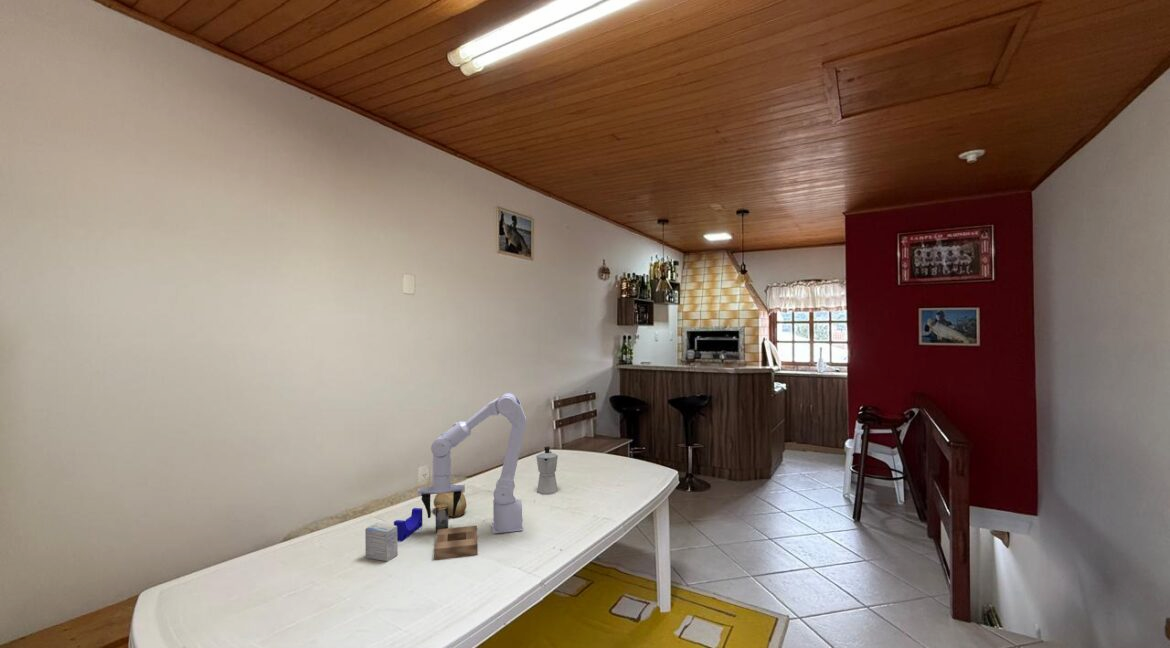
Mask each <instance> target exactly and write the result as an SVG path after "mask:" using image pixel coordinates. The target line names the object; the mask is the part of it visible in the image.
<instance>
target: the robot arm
mask: <svg viewBox="0 0 1170 648" xmlns="http://www.w3.org/2000/svg"><path fill="white" fill-rule="evenodd" d="M499 414H501V415H502V416H503V417H505V418H506V419H507V420H508V421H509V423H510V424H511V428H510V433H509V434H510V435H509V439H508V441H507V442H508V443H507V448H506V451H505V457H504V460H503V465H502V469H501V474H500V477H499V479H497V481H496V483H495V489H494V491H493V506H492V507H493V510H492V511H493V522H491V529H492V530H491V531H492V534H494V535H495V534H504V533H512V532H522V531H523V504H522V503H523V502H522V499H517V498H516V497H515V495H514V490H515V486H516V485H515V481H514V479H515V474H516V470H517V467H518V466H517V465H518V461H519V458H520V454H521V449H522V444H523V440H524V435H525V430H526V427H527V423H528V422H527V417H526V414H525V412H524V409H523V407H522V403H521V401H520V399H519V398H518V397H517V396H516V395H515V394H514V393H512V392H505V393H502V394H501V396H500V397H497V398H494V399H493V400H492V401H490V402H488V403H487V404H486V405H484V406H483V407H482V408H480V410H478V411H477V412H476V413H475V414H473V415H472V416H471V417H470V418H468V419H467V420H466V421H463V420H459V422H457V421H455V422H454V423H453V424H452V427H450V428H449V429H448V430H446V431H443V432H442V433H441V434H440V435H441V436H439V437H437V438H436V439H435V440H434V441H433V443H432V444H431V447H430V449H431V453H432V456H433V457H432V486H427V487H420V488H419V487H418V489H417V496H418V497H421V501H422V503H423V505H424V507H425V510H426V514H427V519H431V516H432V510H431V495H437V494H443V493H454V494H453V516H455V511H456V507H457V504H458V502H459V499H460V497H461V493H463V494H464V493H465V492H466V491H465V484H452V467H451V466H452V458H451V455H452V454H451V450H452V449H453V448H455V447H457V446H458V445H459V444H460V443H462V442H464V441H465V440H466V439H467V438H469V436H471V434H472V429H474V428H475V427H476V426H478V425H479V424H481V423H482V422H483V421H485V420H486V419H488V418H489V417H491V416H499Z"/></svg>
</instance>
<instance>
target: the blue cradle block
mask: <svg viewBox="0 0 1170 648" xmlns="http://www.w3.org/2000/svg"><path fill="white" fill-rule="evenodd" d="M393 525H395V526H397V542H404V541H405V540H407V538H409V537H411V535H413V534H414V533H416V532H417V531H418V530H419V529H420V528H423V507H422V508H421V507H414V508H412V509H411V516H409V517H407V518H406V519H405V520H401V519H396V520H395V521H393Z"/></svg>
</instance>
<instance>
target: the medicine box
mask: <svg viewBox="0 0 1170 648" xmlns="http://www.w3.org/2000/svg"><path fill="white" fill-rule="evenodd" d="M364 532H365V536H364V537H365V558H366V559H371V560H378V561H382V562H384V561H385V562H389V561H391V560H392V559H394V558H395V557H397V556H398V554H399V553H398V549H399V547H398V541H397V526H395V525H394V524H387V523H379V522H375V523H373V524H370V525H369V526H367V527H366V528H365V529H364Z"/></svg>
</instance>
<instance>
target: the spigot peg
mask: <svg viewBox="0 0 1170 648" xmlns="http://www.w3.org/2000/svg"><path fill="white" fill-rule="evenodd" d="M447 528H449V515H448V505H446V504H441V505H437V506H436V507H435V533H436V534H437V530H438V529H447Z"/></svg>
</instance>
